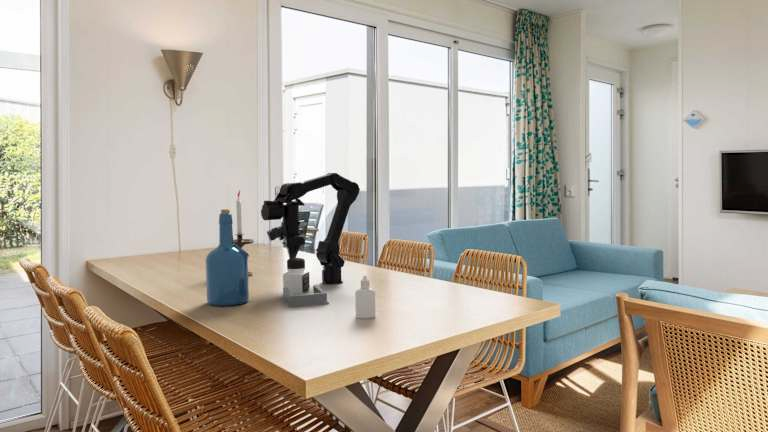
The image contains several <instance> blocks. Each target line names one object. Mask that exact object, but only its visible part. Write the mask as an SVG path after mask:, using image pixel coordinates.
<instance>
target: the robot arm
mask: <svg viewBox="0 0 768 432" xmlns="http://www.w3.org/2000/svg"><path fill="white" fill-rule="evenodd" d="M327 186H331V187H332V188H333V189H334V191H337V192H336V200H337V204H336V208H335V211H334V213H333V217H332V220H331V222H330V226H329V229H328V232H327V234H326V236H325V239H323V240H319V241H318V245H317V248H316V249H315V252H316V258H317V260H318V261H319V263H320V266H322V270H321V281H322V282H323V283H324V284H325V285H331V284H332V285H333V284H343V282H344V281H343V280H342V268H343V267H345V263H346V261H345V260H344V259H343V258H342V257H341V256H340V250H341V248H340V238H341V235H342V232H343V229H344V225H345V224H346V220H347V216H348V214H349V211H350V207H351V206H352V204H353V203H354V202H356V201H357V198H358V196H359V194H360V190H361V189H360V187H359V185H358V183H357V182H355V181H351V180H350V179H348V178H346V177H344V176H342V175H340V174H338V173H337V172H328V173H326V174H323V175H321V176H317V177H314V178H311V179H307V180H304V181H300V182H289V183H288V182H287V183H286V182H285V183H283V184H281V185H280V188H279V192H278V194H276V197H275V198H274V199H273V200H264V201H263V204H262V207H261V209H260V215H261V218H262V220H263V221H276V220H277V221H278V220H281V219H282V221H281V222H280V225H279V226H274V227H273V228H271V229H268V230H267V231H266V234H267V236H268V239H269V240H270V241H271V242H272V241H275V240H276V239H278V240H279V241H282V240H284V241H282V244H283V246H285V247H286V250H287V254H288V257H289V259H290V258H297V256H298V253H299V250H300V249H301V246H302V245H306V239H305V237H304V236H302V234H301V233H300V226H301V221H300V206H305V203H304V202H303V201H302V200H301V198H302V197H305V195H306V194H308V193H309V192H313V191H315V190H318V189H321V188H324V187H327Z"/></svg>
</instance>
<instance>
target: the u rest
mask: <svg viewBox="0 0 768 432" xmlns="http://www.w3.org/2000/svg"><path fill="white" fill-rule="evenodd" d="M281 299H282V300H283V302H284V304H286V306H287V307H288V308H296V307H297V308H298V307H308V306H309V307H310V306H318V305H329V304H330V303H329V301H328V294H327V292H326V291H325V290H324V289H322V288H321V287H320V286H319V285H318V284H315V285H314V284H313V292H312V293H305V294H303V295H293V294H292V293H291V292H290V291H289V290H288V288H287V287H286V288H283V287H282V296H281Z"/></svg>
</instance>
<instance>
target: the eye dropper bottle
mask: <svg viewBox="0 0 768 432" xmlns="http://www.w3.org/2000/svg"><path fill="white" fill-rule="evenodd" d="M354 294H355V296H354V297H355V300H354V301H355V306H354V307H355V318H356V319H365V320H366V319H368V320H369V319H374V318H375V317H376V290H374V289H373V288H371V287H370V279H368V278H367V274H364V275H363V277H362V279H361V280H360V288H358V289H356V290H355V293H354Z"/></svg>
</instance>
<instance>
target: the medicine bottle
mask: <svg viewBox="0 0 768 432" xmlns="http://www.w3.org/2000/svg"><path fill="white" fill-rule="evenodd" d="M286 268H287V269H286V270H287V272H285V273H283V274H282V283H283V284H282V289H283V288H286V287H287V288H288V290H289V291H290V292H291V293H292V294H293V295H303V294H308V292H310V289H311V288H310V286H311V285H310V271H309V270H306V261H305V259H304V258H302V257H296V258H289V259H287V260H286Z"/></svg>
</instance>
